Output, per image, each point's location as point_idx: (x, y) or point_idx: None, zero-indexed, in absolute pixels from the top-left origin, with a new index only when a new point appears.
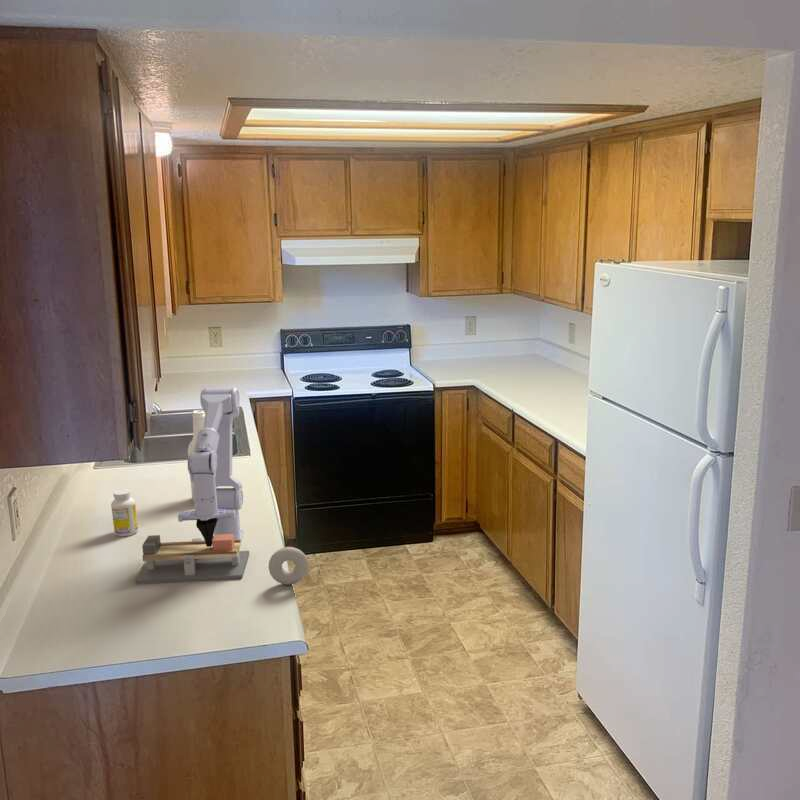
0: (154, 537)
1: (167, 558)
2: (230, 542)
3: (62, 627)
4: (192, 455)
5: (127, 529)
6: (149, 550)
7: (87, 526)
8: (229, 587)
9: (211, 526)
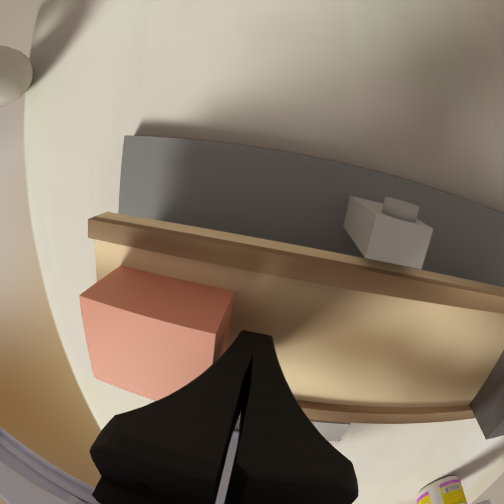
0: None
1: (485, 286)
2: (97, 290)
3: None
4: None
5: (445, 489)
6: None
7: (472, 489)
8: (185, 61)
9: (154, 429)
